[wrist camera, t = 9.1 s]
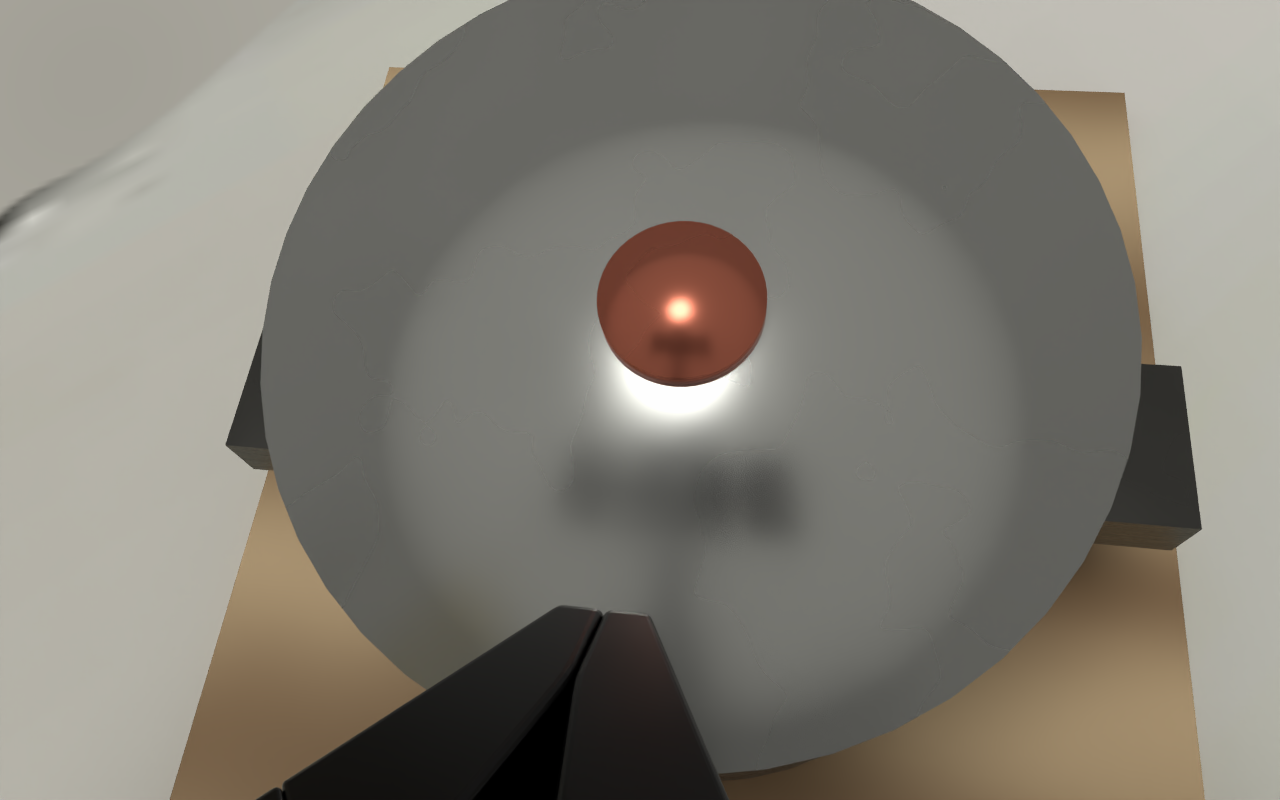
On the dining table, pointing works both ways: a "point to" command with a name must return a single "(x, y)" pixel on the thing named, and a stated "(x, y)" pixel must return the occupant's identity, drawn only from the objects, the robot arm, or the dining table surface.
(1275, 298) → the dining table surface
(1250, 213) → the dining table surface
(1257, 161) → the dining table surface
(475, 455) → the lid
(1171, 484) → the cooker
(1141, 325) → the board
